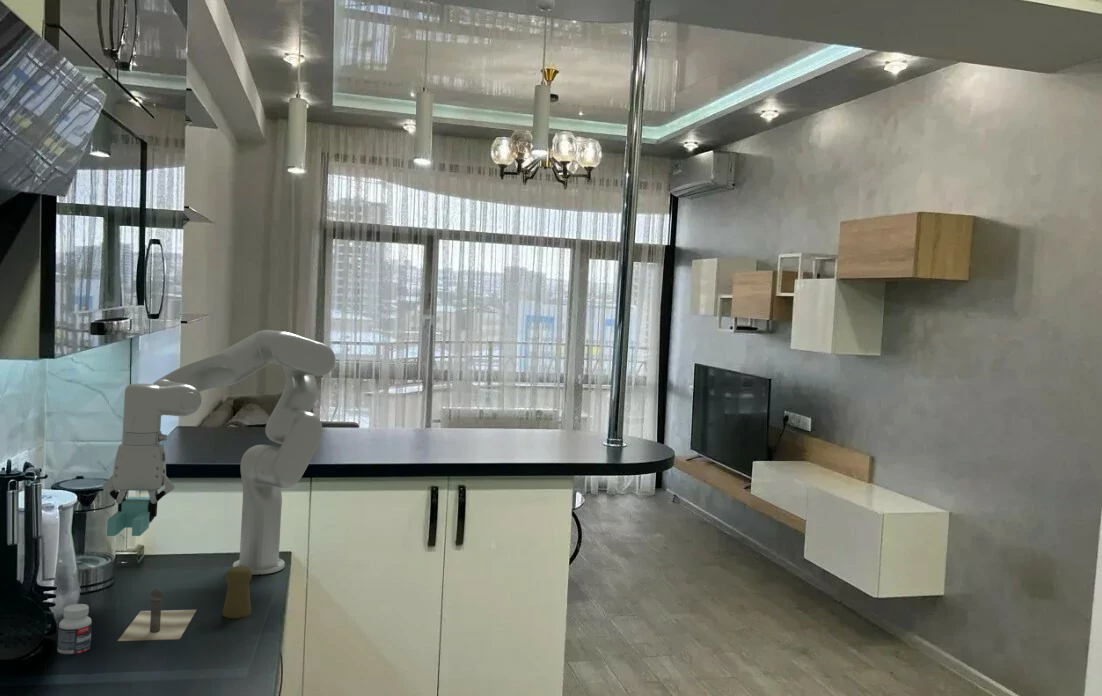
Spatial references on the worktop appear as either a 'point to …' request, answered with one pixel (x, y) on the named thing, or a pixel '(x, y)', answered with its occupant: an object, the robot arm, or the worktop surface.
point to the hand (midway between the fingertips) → (137, 519)
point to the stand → (158, 622)
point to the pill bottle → (74, 630)
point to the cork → (237, 592)
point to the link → (130, 517)
